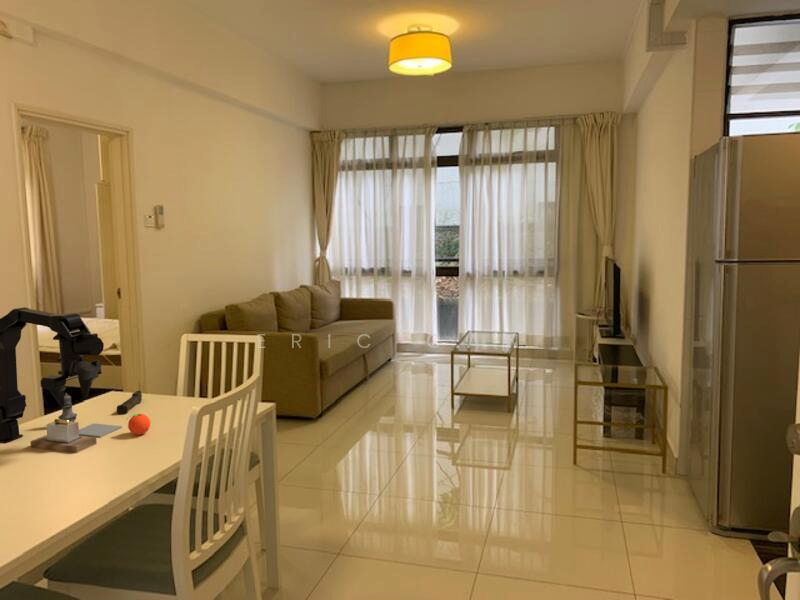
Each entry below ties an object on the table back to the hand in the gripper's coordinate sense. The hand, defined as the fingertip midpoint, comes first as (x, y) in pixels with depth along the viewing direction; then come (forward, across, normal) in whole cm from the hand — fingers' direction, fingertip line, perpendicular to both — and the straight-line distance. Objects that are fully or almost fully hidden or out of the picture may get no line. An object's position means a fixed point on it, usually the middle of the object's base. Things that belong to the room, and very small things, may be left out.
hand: (74, 402), depth 187 cm
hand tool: (+15, +40, +13) cm, 45 cm away
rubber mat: (+15, +14, +5) cm, 21 cm away
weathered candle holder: (+15, +16, +19) cm, 29 cm away
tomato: (+15, +15, -11) cm, 24 cm away
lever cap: (+12, 0, +5) cm, 13 cm away
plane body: (+15, 0, +5) cm, 16 cm away
